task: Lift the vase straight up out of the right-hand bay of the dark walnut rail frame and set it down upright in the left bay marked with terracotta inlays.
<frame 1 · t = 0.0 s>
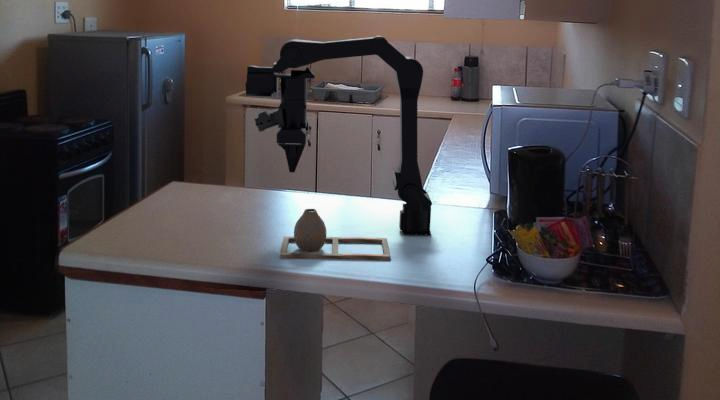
hand: (293, 167, 172), 15 cm above the countertop, tool pointing down, fingers open, 9 cm apart
rail frame: (335, 249, 163), on the countertop
vase: (310, 250, 163), resting in rail frame
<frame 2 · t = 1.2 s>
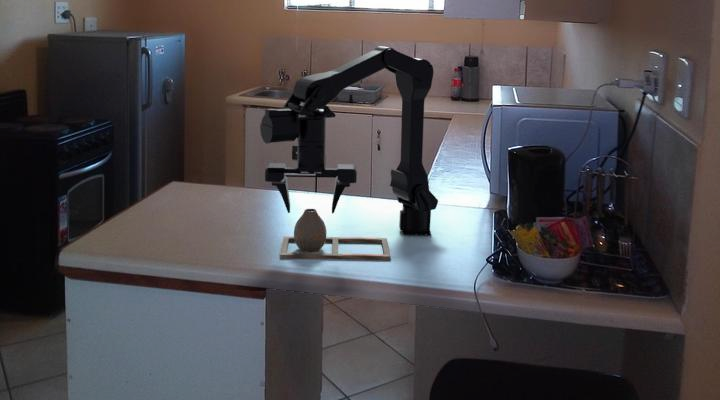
hand: (310, 212, 161), 8 cm above the countertop, tool pointing down, fingers open, 9 cm apart
nothing on the countertop moved.
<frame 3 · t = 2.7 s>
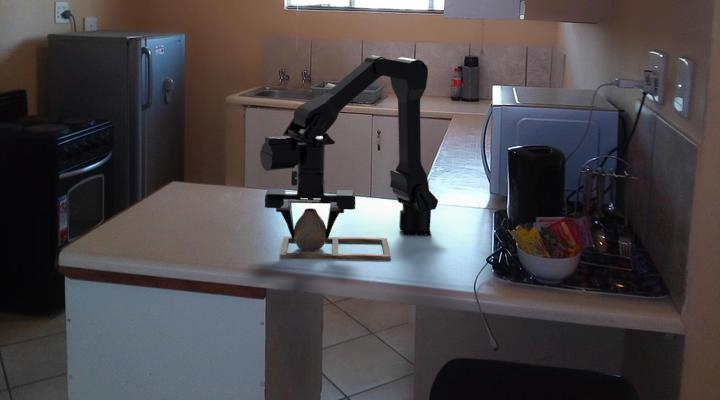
hand: (310, 237, 163), 3 cm above the countertop, tool pointing down, fingers closed on vase, 7 cm apart
vase: (310, 250, 163), resting in rail frame, touching gripper
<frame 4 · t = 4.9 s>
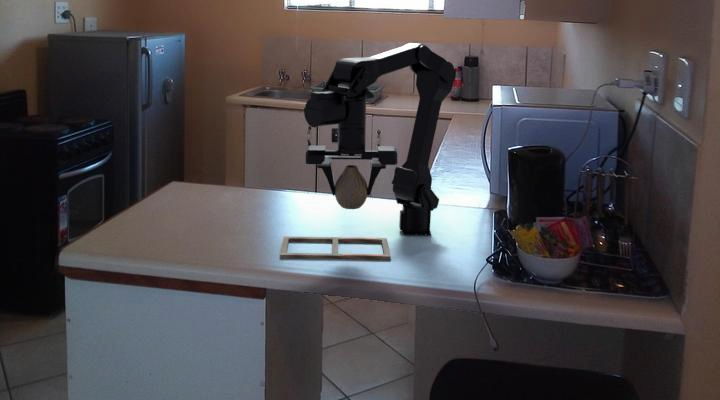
hand: (351, 195, 161), 12 cm above the countertop, tool pointing down, fingers closed on vase, 7 cm apart
vase: (351, 207, 161), point 9 cm above the countertop, touching gripper
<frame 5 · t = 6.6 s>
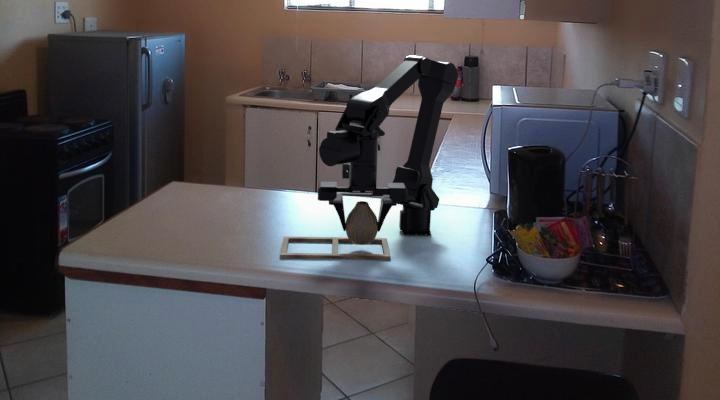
hand: (361, 230, 163), 4 cm above the countertop, tool pointing down, fingers closed on vase, 7 cm apart
vase: (361, 243, 163), point 2 cm above the countertop, touching gripper
when the fingers open (4 cm above the countertop, at t = 7.6 s): vase drops 1 cm, resting in rail frame.
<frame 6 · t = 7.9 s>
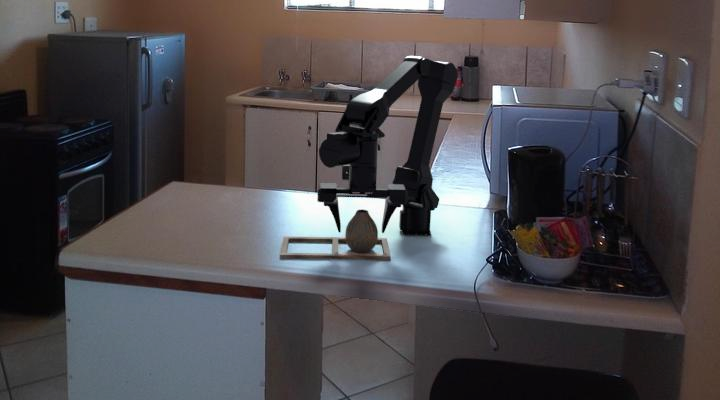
hand: (361, 232, 163), 4 cm above the countertop, tool pointing down, fingers open, 9 cm apart
vase: (361, 251, 164), resting in rail frame
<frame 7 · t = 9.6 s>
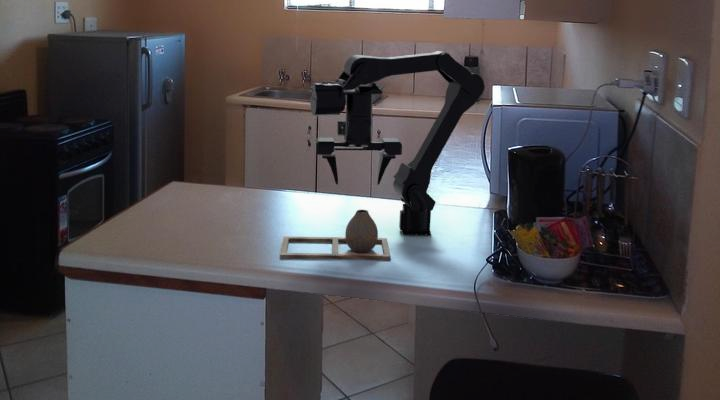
hand: (357, 184, 170), 12 cm above the countertop, tool pointing down, fingers open, 9 cm apart
nothing on the countertop moved.
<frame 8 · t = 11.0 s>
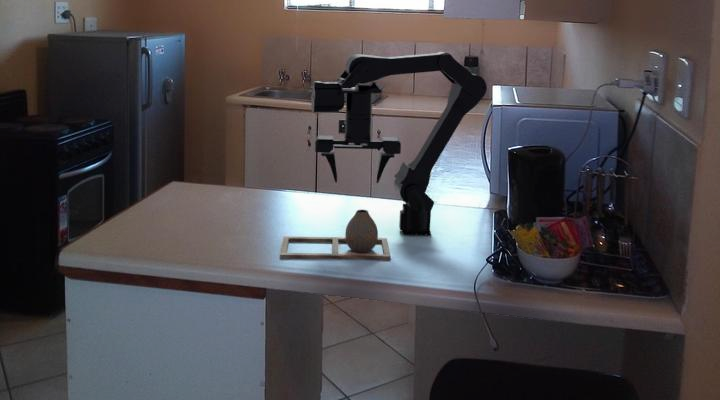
hand: (356, 182, 171), 12 cm above the countertop, tool pointing down, fingers open, 9 cm apart
nothing on the countertop moved.
at the end: vase 0.1 cm from the target spot, resting in rail frame; vase tilted 0°; the gripper is holding nothing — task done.
